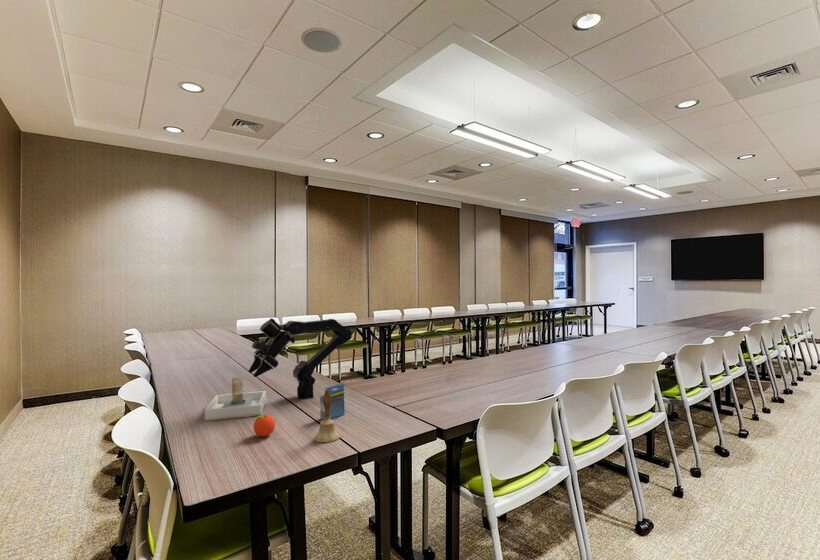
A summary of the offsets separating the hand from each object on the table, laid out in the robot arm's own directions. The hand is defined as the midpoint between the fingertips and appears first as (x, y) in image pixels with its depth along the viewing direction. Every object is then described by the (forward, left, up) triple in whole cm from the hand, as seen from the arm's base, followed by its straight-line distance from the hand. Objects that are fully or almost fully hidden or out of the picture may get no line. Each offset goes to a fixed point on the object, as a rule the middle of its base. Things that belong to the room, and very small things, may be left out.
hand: (251, 374), depth 164 cm
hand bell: (-29, +42, -14) cm, 53 cm away
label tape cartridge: (-32, +22, -14) cm, 41 cm away
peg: (+5, +2, -13) cm, 14 cm away
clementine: (-8, +34, -14) cm, 37 cm away
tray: (+5, +2, -14) cm, 15 cm away
